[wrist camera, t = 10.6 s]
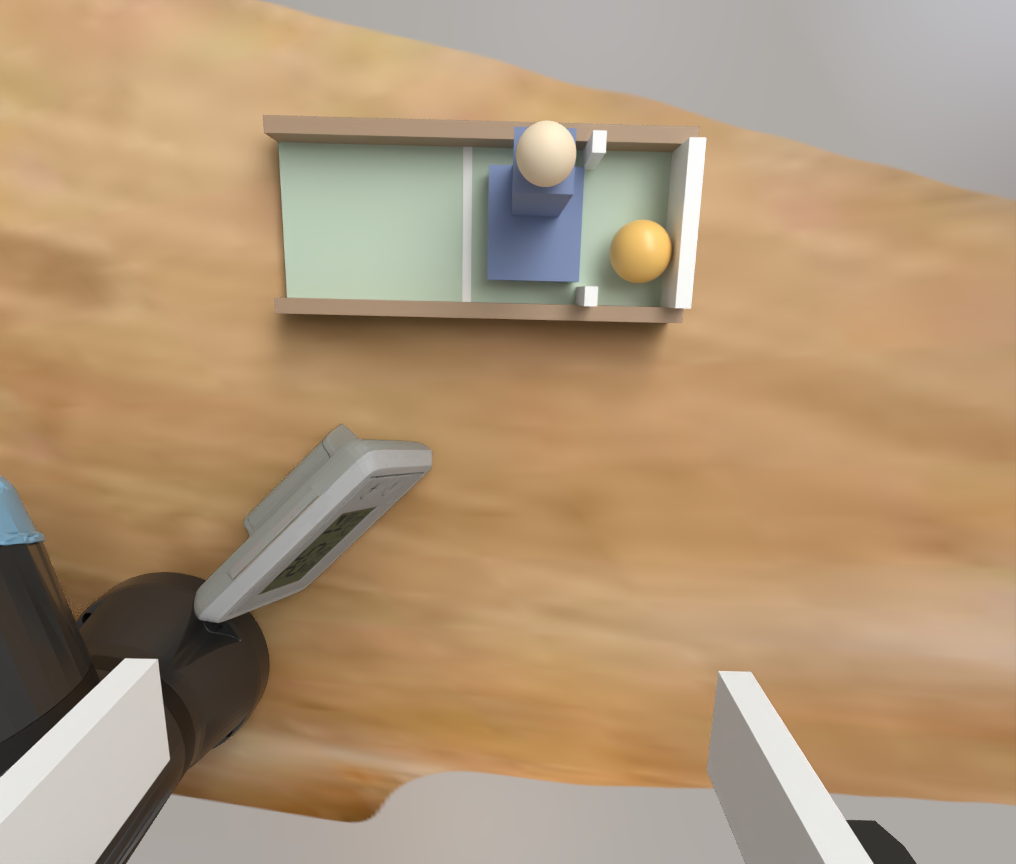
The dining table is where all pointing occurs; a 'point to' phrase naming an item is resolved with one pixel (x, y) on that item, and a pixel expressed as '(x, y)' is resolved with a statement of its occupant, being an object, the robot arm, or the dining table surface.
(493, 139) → the pitch
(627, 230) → the ball
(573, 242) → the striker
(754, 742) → the robot arm
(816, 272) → the dining table surface
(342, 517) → the digital clock
